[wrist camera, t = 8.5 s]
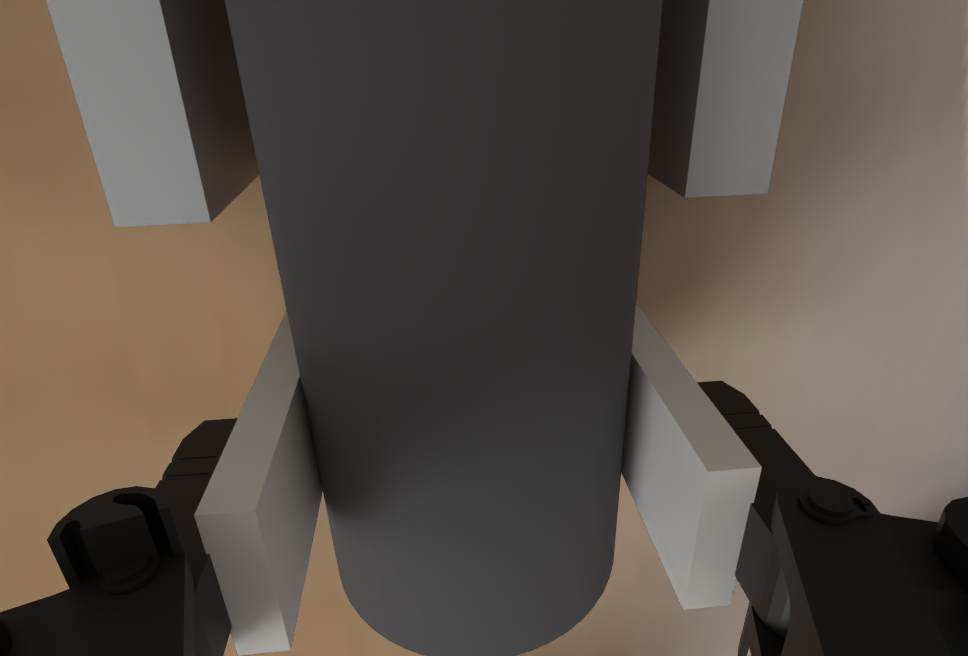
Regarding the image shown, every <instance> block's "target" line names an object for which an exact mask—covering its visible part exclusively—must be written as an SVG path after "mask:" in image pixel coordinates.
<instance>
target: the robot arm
mask: <svg viewBox="0 0 968 656" xmlns="http://www.w3.org/2000/svg"><path fill="white" fill-rule="evenodd" d="M771 426H772V425H771V424H770V423H769V422H768V421H767V420H766V419H765V417H764V416H763V415H760V414H759V411H758V409H757V408H756V407H755V406H754V405H753V404H752V402H751V401H750V400H749V399H748V398H747V397H746V396H745V394H743V393H741V392H740V391H738V390H736V389H734V388H733V387H731V386H729V385H728V384H726V383H724V382H723V381H711V382H696V381H695V379H694V378H693V377H692V376H691V374H690V373H689V372H688V370H687V369H686V368H685V366H684V365H683V364H682V363H681V361H680V360H679V359H678V357H677V356H676V355H675V353H674V352H673V351H672V350H671V348H670V347H669V346H668V344H667V343H666V342H665V340H664V339H663V338H662V336H661V335H660V334H659V333H658V331H657V330H656V329H655V327H654V326H653V325H652V323H651V322H650V321H649V320H648V318H647V317H646V316H645V314H644V313H643V312H642V310H641V309H640V308H639V307H638V305H637V304H636V308H635V320H634V331H633V342H632V354H631V365H630V376H629V388H628V399H627V410H626V422H625V433H624V444H623V456H622V467H621V472H622V475H623V477H624V479H625V481H626V484H627V486H628V488H629V490H630V493H631V495H632V497H633V499H634V501H635V504H636V506H637V508H638V510H639V513H640V515H641V517H642V519H643V521H644V524H645V526H646V528H647V530H648V533H649V535H650V537H651V539H652V542H653V544H654V546H655V548H656V550H657V553H658V555H659V557H660V559H661V562H662V564H663V566H664V568H665V571H666V573H667V575H668V577H669V579H670V582H671V584H672V586H673V588H674V591H675V593H676V595H677V597H678V599H679V602H680V604H681V606H682V608H683V610H689V609H699V608H709V607H719V606H729V605H731V601H732V596H733V592H734V587H735V583H736V579H737V580H738V581H739V583H740V585H741V587H742V589H743V590H744V592H745V594H746V596H747V597H748V599H749V601H750V602H749V606H748V610H747V614H746V618H745V623H744V627H743V631H742V635H741V639H740V643H739V647H738V656H747V653H748V649H749V646H750V651H751V656H968V497H965V498H960V499H956V500H952V501H951V502H950V503H949V504H948V505H947V506H946V507H945V508H944V510H943V513H942V515H941V518H940V520H939V523H938V522H931V521H924V520H918V519H911V518H904V517H897V516H890V515H885V514H881V513H880V512H879V511H878V510H877V509H876V507H875V506H874V505H873V503H872V502H871V501H870V500H869V499H868V498H866V497H865V496H863V495H862V494H861V493H859V492H858V491H856V490H855V489H853V488H851V487H849V486H846V485H844V484H842V483H840V482H837V481H835V480H831V479H826V478H821V477H817V476H815V475H814V474H813V473H812V471H811V470H810V469H809V468H808V467H807V466H806V465H805V463H804V462H803V461H802V460H801V459H800V458H799V456H798V455H797V454H796V453H795V452H794V451H793V450H792V448H791V447H790V446H789V445H788V444H787V443H786V442H785V440H784V439H783V438H782V437H781V436H780V435H779V433H778V432H777V431H776V430H775V429H772V427H771ZM162 477H163V479H162V480H160V481H159V483H158V485H157V487H156V488H155V489H154V488H147V487H139V486H135V487H128V488H121V489H115V490H112V491H110V492H107V493H104V494H101V495H98V496H96V497H93V498H91V499H89V500H88V501H86V502H84V503H83V504H81V505H79V506H77V507H76V508H74V509H72V510H71V511H70V512H69V513H68V514H67V515H66V516H65V517H63V518H62V519H61V520H60V521H59V522H58V523H57V524H56V525H55V527H54V529H53V530H52V532H51V534H50V536H49V537H48V539H47V541H48V543H49V545H50V548H51V550H52V552H53V554H54V556H55V558H56V560H57V563H58V565H59V567H60V569H61V571H62V573H63V575H64V577H65V580H66V582H67V584H68V586H69V588H70V589H68V590H65V591H63V592H60V593H58V594H55V595H52V596H49V597H46V598H43V599H40V600H37V601H34V602H31V603H28V604H25V605H22V606H18V607H15V608H12V609H9V610H6V611H3V612H0V656H223V654H224V651H225V648H226V644H227V641H228V638H229V634H230V632H231V635H232V638H233V641H234V644H235V648H236V651H237V654H238V656H239V655H249V654H259V653H269V652H278V651H288V650H291V646H292V641H293V636H294V631H295V626H296V621H297V616H298V611H299V606H300V601H301V596H302V591H303V586H304V581H305V576H306V571H307V566H308V561H309V556H310V551H311V546H312V541H313V536H314V531H315V526H316V521H317V516H318V511H319V506H320V501H321V497H322V492H323V489H322V484H321V479H320V474H319V469H318V464H317V459H316V454H315V449H314V444H313V439H312V434H311V429H310V424H309V419H308V414H307V409H306V404H305V399H304V394H303V389H302V384H301V379H300V374H299V369H298V364H297V359H296V354H295V349H294V344H293V339H292V334H291V329H290V324H289V319H288V314H287V310H286V312H285V315H284V317H283V319H282V321H281V324H280V326H279V328H278V330H277V332H276V335H275V337H274V339H273V341H272V344H271V346H270V348H269V350H268V352H267V355H266V357H265V359H264V361H263V364H262V366H261V368H260V370H259V372H258V375H257V377H256V379H255V381H254V384H253V386H252V388H251V390H250V392H249V395H248V397H247V399H246V401H245V404H244V406H243V408H242V410H241V412H240V415H239V417H238V418H234V419H221V420H207V421H204V422H202V423H201V424H200V425H199V426H198V427H197V428H195V429H194V430H193V431H192V432H191V433H190V434H188V435H187V436H186V437H185V438H184V439H183V440H182V442H181V444H180V445H179V447H178V449H177V451H176V453H175V454H174V456H173V458H172V463H169V465H168V467H167V469H166V470H165V472H164V474H163V476H162Z"/></svg>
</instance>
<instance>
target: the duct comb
mask: <svg viewBox="0 0 968 656" xmlns="http://www.w3.org/2000/svg"><path fill="white" fill-rule="evenodd" d="M46 2H47V5H48V9H49V12H50V15H51V19H52V22H53V25H54V28H55V32H56V35H57V38H58V42H59V45H60V48H61V51H62V55H63V58H64V61H65V65H66V68H67V71H68V75H69V78H70V81H71V84H72V88H73V91H74V94H75V98H76V101H77V104H78V107H79V111H80V114H81V117H82V121H83V124H84V127H85V130H86V134H87V137H88V140H89V144H90V147H91V150H92V153H93V157H94V160H95V163H96V167H97V170H98V173H99V176H100V180H101V183H102V186H103V190H104V193H105V196H106V199H107V203H108V206H109V209H110V213H111V216H112V219H113V222H114V226H115V227H131V226H150V225H169V224H189V223H208V222H212V221H213V220H214V219H215V218H216V217H217V216H218V215H219V214H220V213H221V212H222V211H223V210H224V209H225V208H226V207H227V206H228V205H229V204H230V203H231V202H232V201H233V200H234V199H235V198H236V197H237V196H238V195H239V194H240V193H241V192H242V191H243V190H244V189H245V188H246V187H247V186H248V185H249V184H250V183H251V182H252V181H253V180H254V179H255V178H256V177H257V176H258V175H259V169H258V164H257V159H256V154H255V149H254V144H253V139H252V134H251V129H250V124H249V119H248V114H247V109H246V104H245V99H244V94H243V89H242V84H241V79H240V74H239V69H238V65H237V60H236V55H235V50H234V45H233V40H232V35H231V30H230V25H229V20H228V15H227V10H226V5H225V0H46ZM802 5H803V0H663V2H662V14H661V25H660V36H659V48H658V59H657V70H656V82H655V93H654V104H653V116H652V127H651V138H650V150H649V161H648V172H647V173H648V174H649V175H651V176H652V177H654V178H655V179H657V180H658V181H660V182H661V183H663V184H664V185H666V186H668V187H669V188H671V189H672V190H674V191H675V192H677V193H678V194H680V195H681V196H683V197H684V198H693V197H712V196H732V195H751V194H768V189H769V184H770V178H771V173H772V168H773V162H774V157H775V151H776V146H777V141H778V135H779V130H780V124H781V119H782V114H783V108H784V103H785V97H786V92H787V86H788V81H789V76H790V70H791V65H792V59H793V54H794V49H795V43H796V38H797V32H798V27H799V22H800V16H801V11H802Z"/></svg>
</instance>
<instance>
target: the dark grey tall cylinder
mask: <svg viewBox="0 0 968 656" xmlns="http://www.w3.org/2000/svg"><path fill="white" fill-rule="evenodd" d="M662 2H663V0H225V5H226V10H227V15H228V20H229V25H230V30H231V35H232V40H233V45H234V50H235V55H236V60H237V65H238V69H239V74H240V79H241V84H242V89H243V94H244V99H245V104H246V109H247V114H248V119H249V124H250V129H251V134H252V139H253V144H254V149H255V154H256V159H257V164H258V169H259V174H260V179H261V184H262V189H263V194H264V199H265V204H266V209H267V214H268V219H269V224H270V229H271V234H272V239H273V244H274V249H275V254H276V259H277V264H278V269H279V274H280V279H281V284H282V289H283V294H284V299H285V304H286V309H287V314H288V319H289V324H290V329H291V334H292V339H293V344H294V349H295V354H296V359H297V364H298V369H299V374H300V379H301V384H302V389H303V394H304V399H305V404H306V409H307V414H308V419H309V424H310V429H311V434H312V439H313V444H314V449H315V454H316V459H317V464H318V469H319V474H320V479H321V484H322V489H323V494H324V499H325V504H326V508H327V513H328V518H329V523H330V528H331V533H332V538H333V543H334V548H335V553H336V558H337V563H338V568H339V573H340V577H341V581H342V584H343V588H344V591H345V593H346V595H347V597H348V599H349V601H350V603H351V604H352V606H353V607H354V608H355V610H356V611H357V613H358V614H359V615H360V617H361V618H362V619H363V620H364V621H365V622H366V623H367V624H368V625H369V626H370V627H372V628H373V629H374V630H375V631H377V632H378V633H379V634H381V635H382V636H384V637H385V638H386V639H388V640H389V641H391V642H393V643H395V644H397V645H399V646H401V647H403V648H405V649H408V650H411V651H413V652H416V653H419V654H422V655H425V656H515V655H519V654H522V653H525V652H529V651H532V650H534V649H536V648H539V647H541V646H543V645H545V644H548V643H550V642H552V641H553V640H555V639H556V638H558V637H560V636H561V635H563V634H565V633H566V632H568V631H569V630H570V629H571V628H573V627H574V626H575V625H576V624H577V623H579V622H580V621H581V620H582V619H583V618H584V617H585V616H586V615H587V614H588V612H589V611H590V610H591V609H592V608H593V607H594V606H595V604H596V602H597V601H598V599H599V598H600V596H601V595H602V593H603V591H604V589H605V587H606V584H607V582H608V580H609V577H610V573H611V569H612V565H613V558H614V546H615V535H616V524H617V512H618V501H619V490H620V478H621V467H622V456H623V444H624V433H625V422H626V410H627V399H628V388H629V376H630V365H631V354H632V342H633V331H634V320H635V308H636V297H637V286H638V274H639V263H640V252H641V240H642V229H643V218H644V206H645V195H646V184H647V172H648V161H649V150H650V138H651V127H652V116H653V104H654V93H655V82H656V70H657V59H658V48H659V36H660V25H661V14H662Z"/></svg>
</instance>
